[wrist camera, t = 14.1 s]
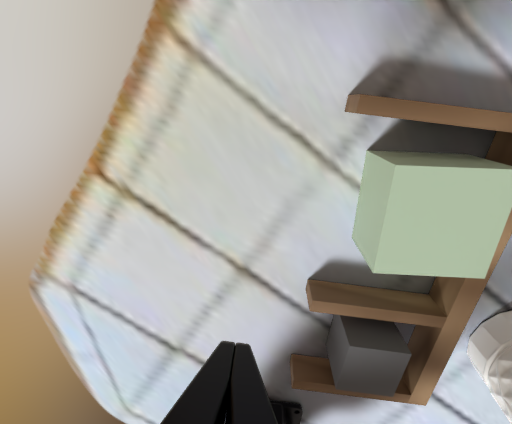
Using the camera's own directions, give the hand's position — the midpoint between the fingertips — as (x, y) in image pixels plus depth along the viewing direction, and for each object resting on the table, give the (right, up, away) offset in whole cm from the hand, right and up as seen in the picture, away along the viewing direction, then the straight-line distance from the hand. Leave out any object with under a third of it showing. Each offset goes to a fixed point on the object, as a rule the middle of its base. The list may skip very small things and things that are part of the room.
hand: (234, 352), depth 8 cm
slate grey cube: (+9, -5, +14) cm, 17 cm away
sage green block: (+10, +5, +10) cm, 15 cm away
